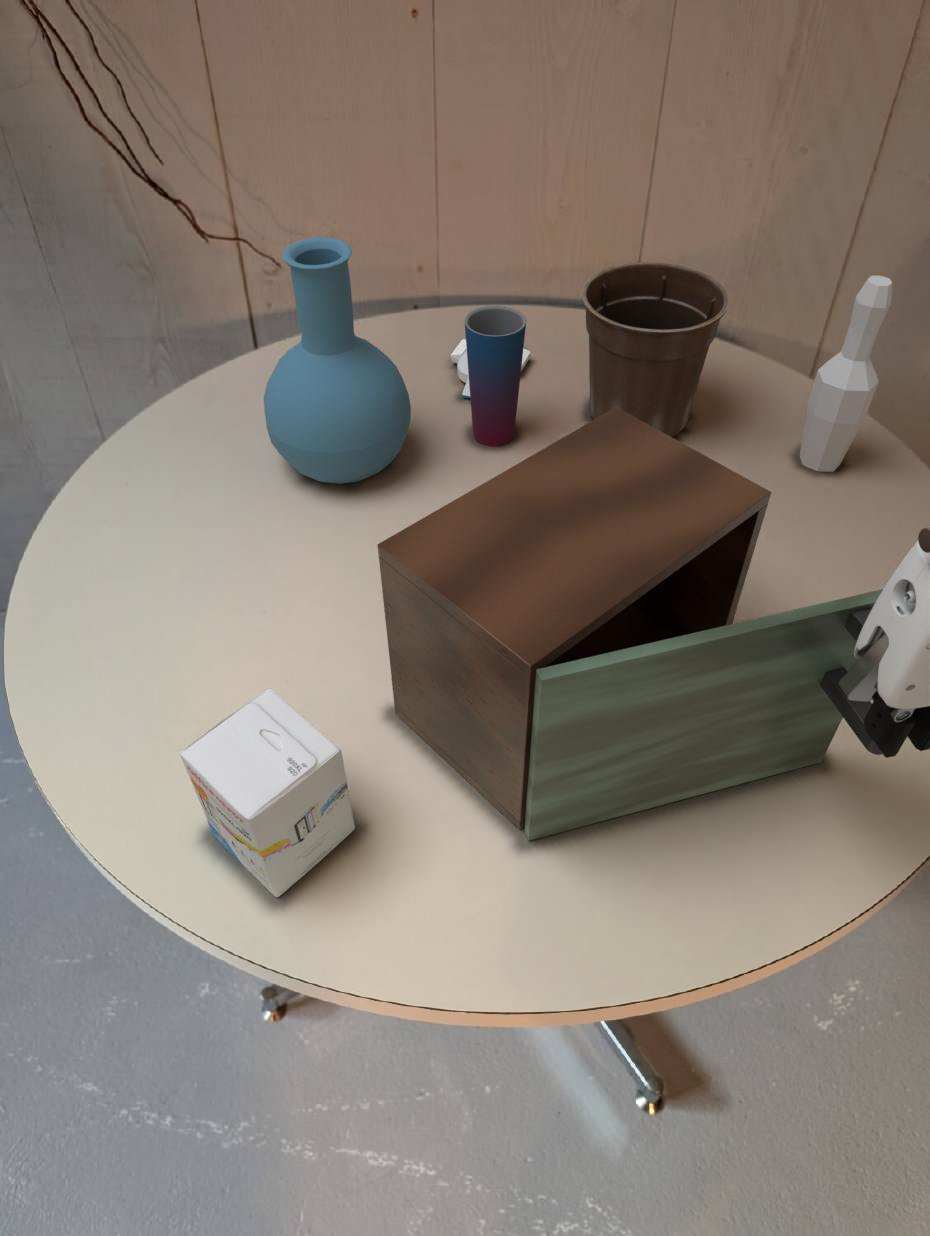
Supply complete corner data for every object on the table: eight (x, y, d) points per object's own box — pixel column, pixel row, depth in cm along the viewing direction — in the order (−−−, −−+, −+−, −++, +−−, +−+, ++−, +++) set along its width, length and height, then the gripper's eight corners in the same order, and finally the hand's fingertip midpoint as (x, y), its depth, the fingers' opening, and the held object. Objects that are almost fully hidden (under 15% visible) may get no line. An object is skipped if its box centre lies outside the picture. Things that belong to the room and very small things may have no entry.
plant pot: (553, 437, 110) (562, 313, 99) (592, 370, 120) (605, 251, 109) (685, 467, 106) (711, 342, 94) (715, 395, 116) (741, 274, 104)
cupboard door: (867, 830, 73) (965, 668, 58) (557, 919, 68) (579, 766, 53) (815, 753, 78) (893, 586, 63) (524, 830, 73) (536, 669, 58)
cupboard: (720, 663, 85) (772, 491, 70) (519, 830, 73) (530, 666, 58) (594, 575, 94) (616, 406, 79) (394, 713, 81) (376, 544, 67)
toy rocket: (473, 333, 127) (473, 318, 126) (540, 345, 125) (540, 330, 123) (431, 392, 117) (430, 376, 116) (502, 407, 115) (502, 391, 113)
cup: (461, 447, 109) (459, 333, 98) (470, 415, 114) (469, 303, 103) (517, 453, 108) (522, 338, 97) (524, 420, 113) (529, 307, 102)
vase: (414, 416, 114) (402, 214, 95) (413, 500, 102) (399, 289, 84) (282, 419, 113) (244, 218, 95) (265, 504, 102) (220, 293, 84)
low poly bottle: (844, 481, 104) (911, 300, 88) (788, 469, 105) (843, 289, 90) (850, 450, 108) (915, 272, 92) (795, 439, 110) (850, 262, 94)
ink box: (209, 834, 73) (173, 750, 65) (290, 769, 77) (267, 682, 69) (276, 902, 69) (248, 822, 61) (358, 829, 73) (343, 745, 65)
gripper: (915, 605, 45) (814, 805, 58) (1190, 557, 47) (1032, 760, 60) (840, 510, 50) (763, 714, 63) (1092, 470, 52) (966, 676, 65)
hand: (895, 735), depth 62 cm, fingers closed on cupboard door
